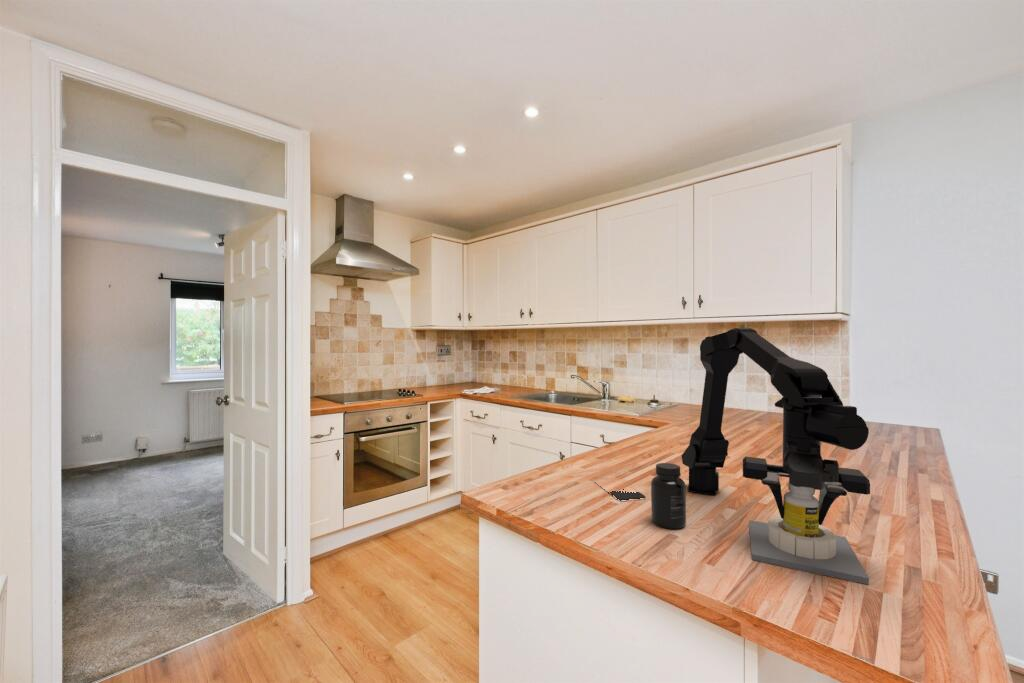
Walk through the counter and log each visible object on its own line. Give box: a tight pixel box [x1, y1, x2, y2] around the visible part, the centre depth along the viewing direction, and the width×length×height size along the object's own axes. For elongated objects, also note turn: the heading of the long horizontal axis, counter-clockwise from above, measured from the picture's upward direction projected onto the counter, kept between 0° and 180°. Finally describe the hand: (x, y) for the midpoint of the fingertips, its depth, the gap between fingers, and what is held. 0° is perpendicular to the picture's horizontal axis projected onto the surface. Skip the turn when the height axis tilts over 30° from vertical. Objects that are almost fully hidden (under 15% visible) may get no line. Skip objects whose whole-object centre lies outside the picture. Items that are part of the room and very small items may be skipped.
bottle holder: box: [748, 516, 870, 585], centre depth 78 cm, size 16×16×4 cm
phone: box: [610, 489, 646, 500], centre depth 109 cm, size 7×1×15 cm
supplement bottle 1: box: [650, 462, 687, 530], centre depth 89 cm, size 7×7×12 cm
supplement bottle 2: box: [782, 481, 819, 538], centre depth 78 cm, size 5×5×10 cm
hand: (800, 520), depth 78 cm, fingers closed on supplement bottle 2, 5 cm apart
